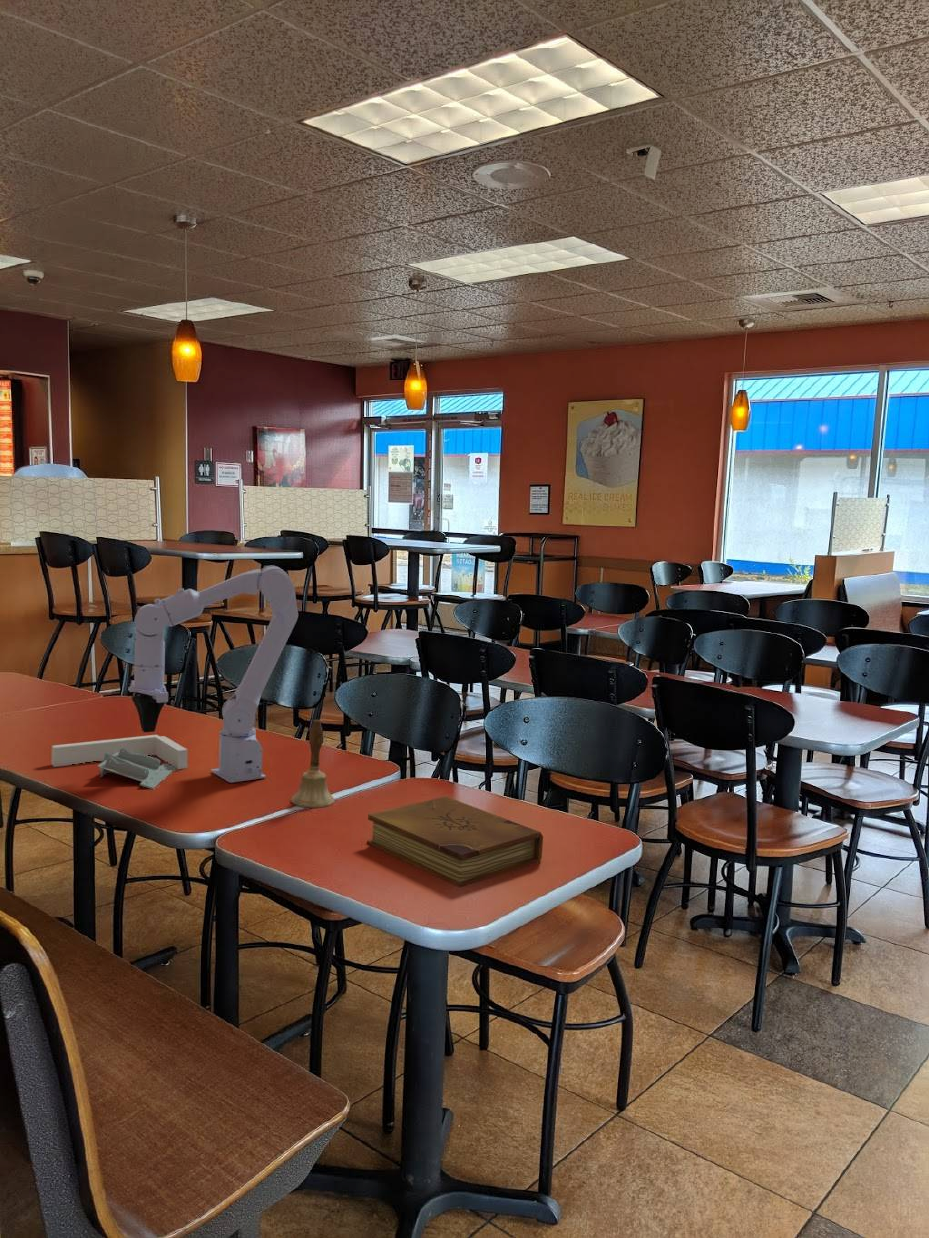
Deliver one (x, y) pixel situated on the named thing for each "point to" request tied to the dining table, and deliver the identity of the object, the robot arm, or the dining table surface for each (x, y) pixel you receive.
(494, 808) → the dining table surface
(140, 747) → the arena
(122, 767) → the metal bracket
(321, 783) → the hand bell
